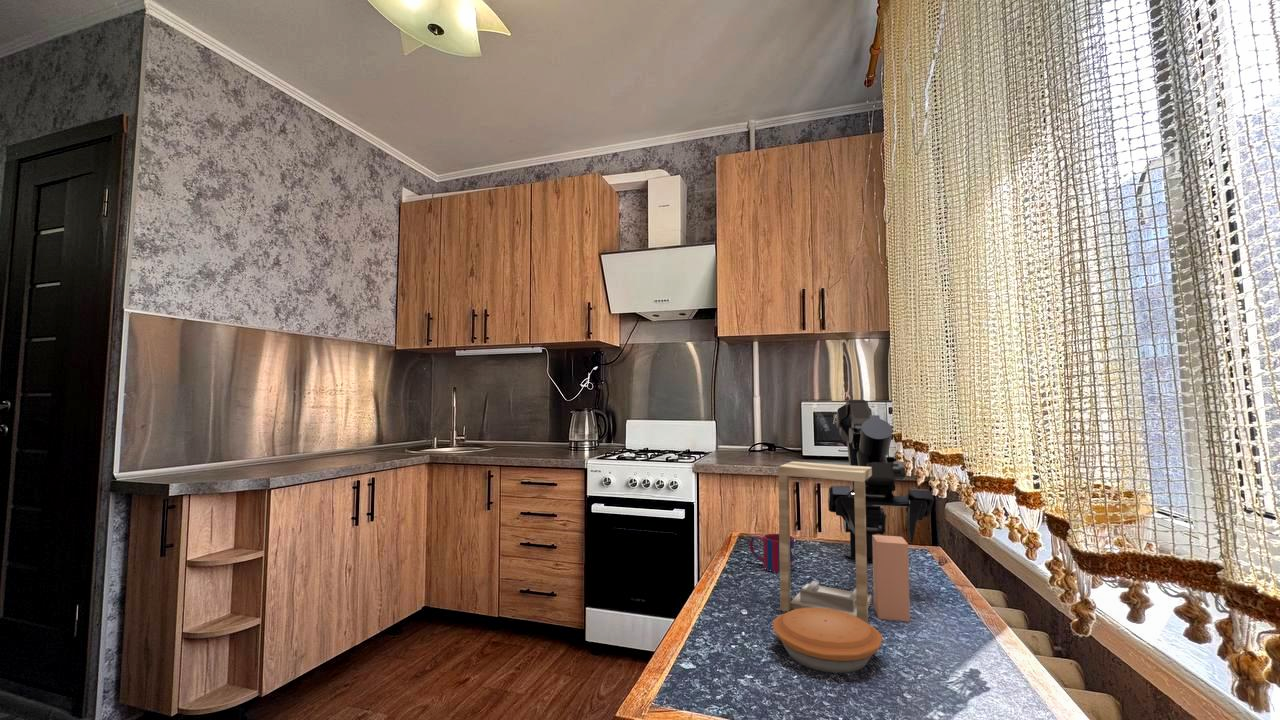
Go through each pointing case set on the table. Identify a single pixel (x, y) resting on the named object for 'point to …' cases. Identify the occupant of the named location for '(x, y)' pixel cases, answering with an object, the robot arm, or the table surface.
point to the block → (891, 577)
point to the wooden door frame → (859, 598)
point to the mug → (773, 552)
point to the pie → (827, 639)
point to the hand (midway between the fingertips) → (884, 539)
